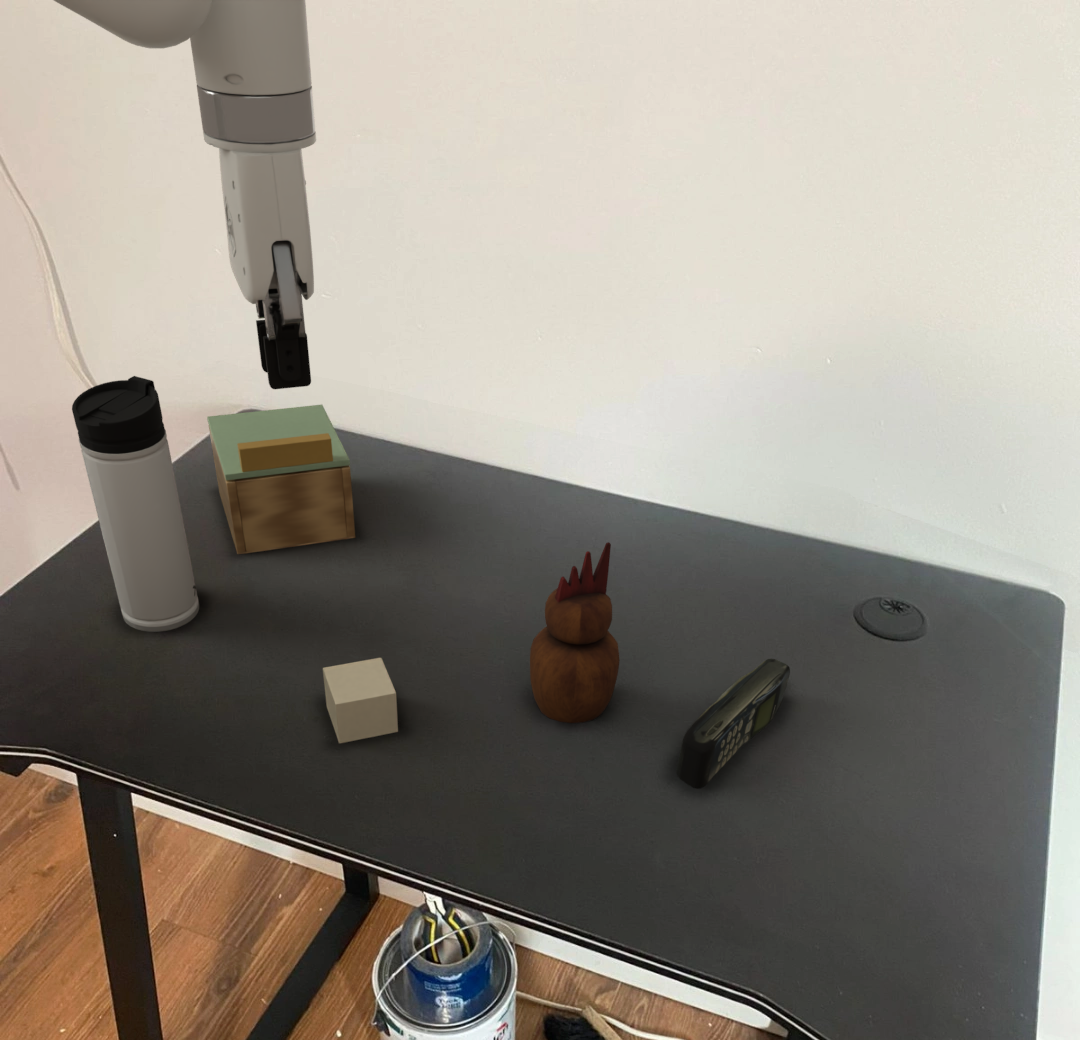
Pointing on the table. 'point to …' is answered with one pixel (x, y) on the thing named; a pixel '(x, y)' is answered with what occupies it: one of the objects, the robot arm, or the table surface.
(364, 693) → the cream block
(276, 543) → the oak box
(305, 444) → the slide door
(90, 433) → the travel mug
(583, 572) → the wooden figurine
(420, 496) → the table surface
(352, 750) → the table surface
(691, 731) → the mobile phone
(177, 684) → the table surface
